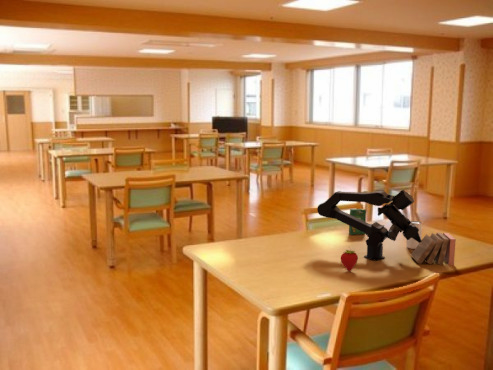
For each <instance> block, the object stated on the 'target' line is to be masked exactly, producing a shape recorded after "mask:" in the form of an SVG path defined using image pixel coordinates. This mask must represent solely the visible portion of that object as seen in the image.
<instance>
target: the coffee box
mask: <svg viewBox="0 0 493 370" xmlns="http://www.w3.org/2000/svg"><path fill="white" fill-rule="evenodd" d="M349 214H350V215H352V216H354V217H356V218H358V219H360V220H362V221H364V222H366V223H367V221H366V220H367V209H366V208H350V209H349ZM355 234H359V235H361V234H362V235H366V234H365V233H364V232H362V231H360V230H357V229H355V228H353V227H351V226H349V225H348V235H350V236H356V235H355Z"/></svg>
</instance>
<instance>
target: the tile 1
mask: <svg viewBox="0 0 493 370" xmlns="http://www.w3.org/2000/svg"><path fill="white" fill-rule="evenodd" d="M430 236H431V235H429V234H424V236H423V238H422V240H421V242H420V243H419V244H418V246H417V247H416V248H415V249H413V250H412V253H410V255H411V257H412V258H413V259H414V261H416V263H418V264H419V265H422V263H423V262H424V261H425V260H424V259H425V258H426V257H427V255H428V254H429V253H430V251H431V250H432V249H433V247H434V246H435V245H436V242H435V241H434V240H433V239H432V238H431V237H430Z"/></svg>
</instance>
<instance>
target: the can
mask: <svg viewBox="0 0 493 370" xmlns="http://www.w3.org/2000/svg"><path fill="white" fill-rule="evenodd" d="M410 221H411V224H414V225H415V226H416V227H417V228H418V229H419V231H418V233H419V236H420V238H421V240H422V239H423V238H422V237H423V234H422V233H423V224H422V222H421V221H419V220H410ZM411 224H410V225H411ZM418 244H419V242H417V241H416V240H414V239H413V238H410V239H409V240H407V239H406V248H408V249H409V250H415V248H416V247H417V246H418Z"/></svg>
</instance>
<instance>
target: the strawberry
mask: <svg viewBox="0 0 493 370" xmlns="http://www.w3.org/2000/svg"><path fill="white" fill-rule="evenodd" d="M348 248H349V249H350V250H348V249H345V251H343V253H342V254H341V256H340V262H341V264H342V265H343V267H344V268H345V270H347V272H351V271H352V270H353V269H354V268H355V265H356V264H357V262H358V260H359V257H358V254H357V253H356V250H352V249H351V247H350V246H348Z"/></svg>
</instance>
